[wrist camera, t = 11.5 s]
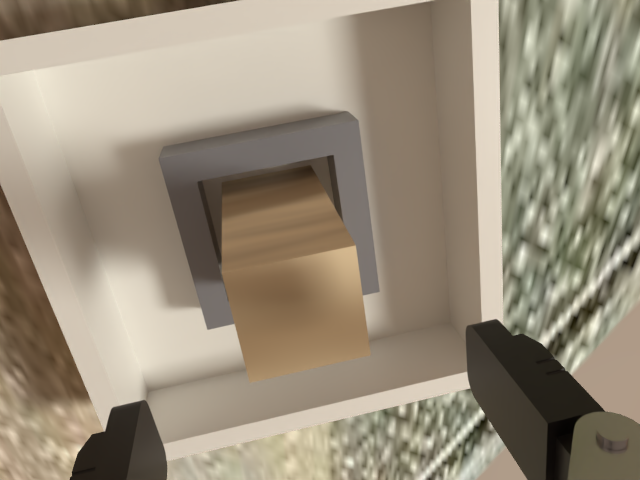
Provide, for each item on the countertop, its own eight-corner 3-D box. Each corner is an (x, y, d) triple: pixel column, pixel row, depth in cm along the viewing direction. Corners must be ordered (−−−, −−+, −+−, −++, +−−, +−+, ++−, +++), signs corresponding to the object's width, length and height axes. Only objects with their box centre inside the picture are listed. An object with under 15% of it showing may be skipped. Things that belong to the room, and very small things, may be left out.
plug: (221, 182, 24) (221, 273, 16) (310, 165, 24) (355, 245, 16) (240, 262, 26) (249, 383, 17) (323, 245, 26) (370, 355, 18)
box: (3, 40, 21) (-56, 50, 17) (442, -34, 23) (497, -44, 18) (137, 398, 29) (121, 472, 24) (461, 324, 30) (504, 379, 26)
